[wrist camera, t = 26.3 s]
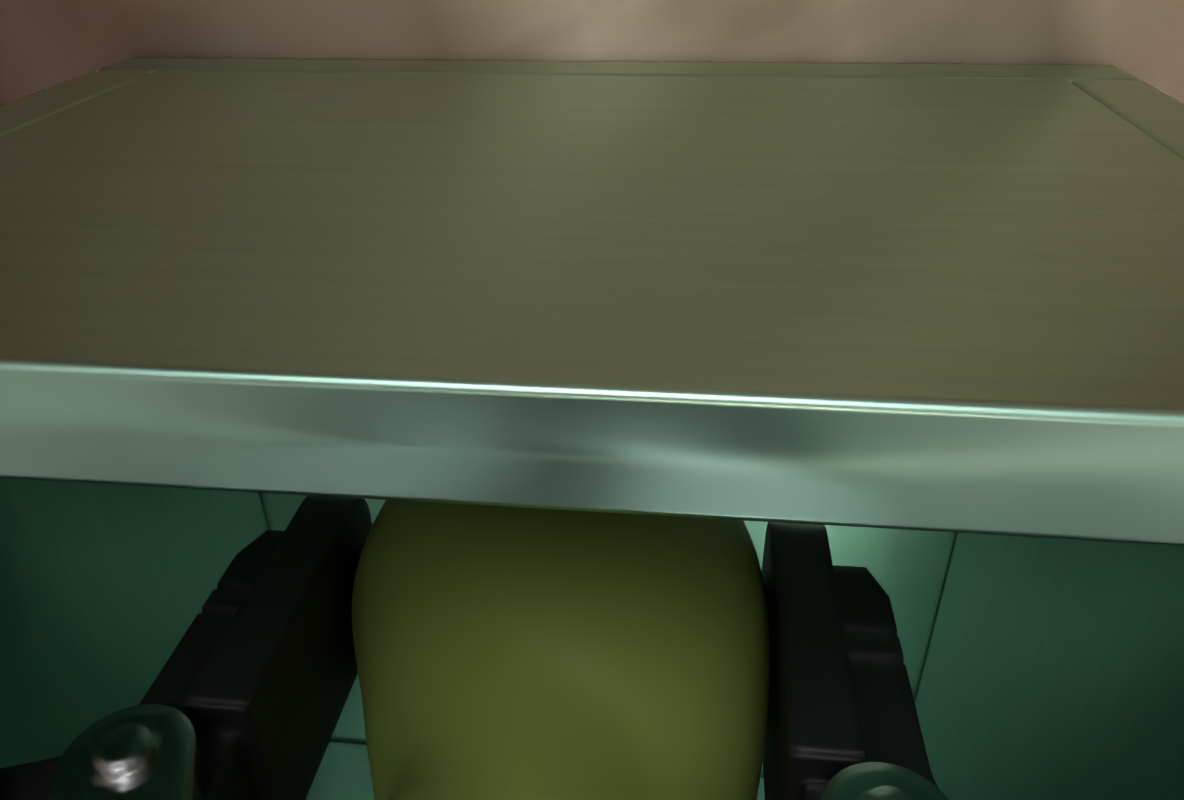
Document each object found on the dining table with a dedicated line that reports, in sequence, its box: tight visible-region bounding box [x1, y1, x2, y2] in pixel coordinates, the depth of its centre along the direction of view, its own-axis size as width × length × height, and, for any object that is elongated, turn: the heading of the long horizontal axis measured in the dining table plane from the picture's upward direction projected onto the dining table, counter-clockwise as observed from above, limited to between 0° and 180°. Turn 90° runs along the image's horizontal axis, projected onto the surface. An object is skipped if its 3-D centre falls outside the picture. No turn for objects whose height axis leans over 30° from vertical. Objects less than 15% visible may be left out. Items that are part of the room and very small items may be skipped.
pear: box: [352, 500, 770, 800], centre depth 10 cm, size 6×5×10 cm
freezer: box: [0, 58, 1184, 800], centre depth 13 cm, size 15×14×9 cm
